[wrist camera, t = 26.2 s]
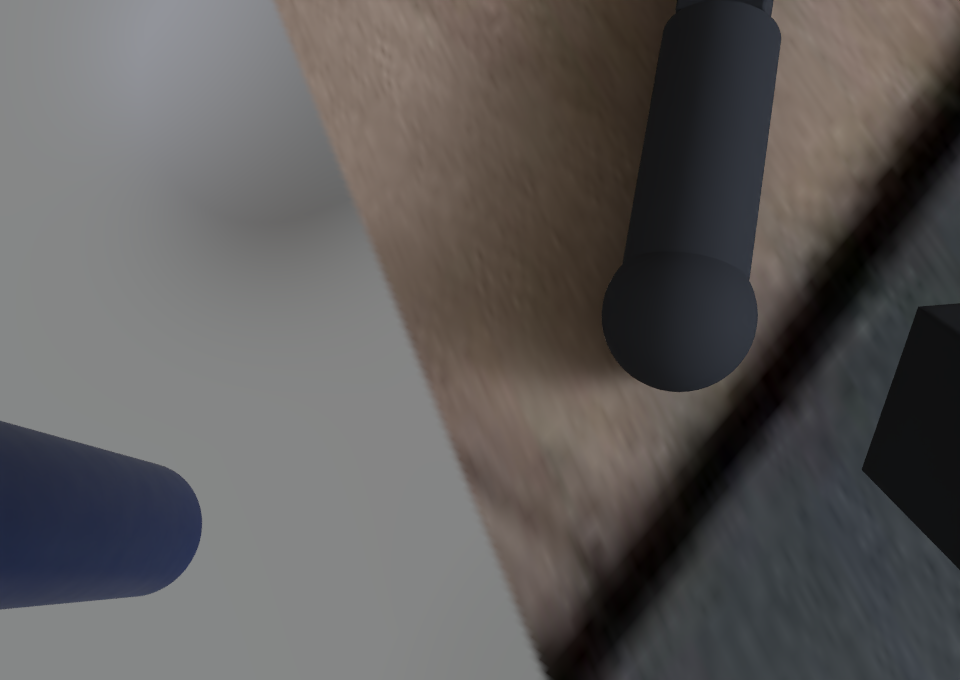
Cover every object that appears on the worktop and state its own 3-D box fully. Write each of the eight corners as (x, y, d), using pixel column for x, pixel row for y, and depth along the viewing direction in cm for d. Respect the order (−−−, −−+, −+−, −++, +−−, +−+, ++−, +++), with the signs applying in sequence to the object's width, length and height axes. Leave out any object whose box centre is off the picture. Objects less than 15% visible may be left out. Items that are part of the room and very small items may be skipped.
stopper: (748, 417, 21) (746, 375, 18) (603, 398, 23) (576, 356, 19) (805, -29, 25) (811, -131, 22) (677, -25, 26) (664, -120, 23)
